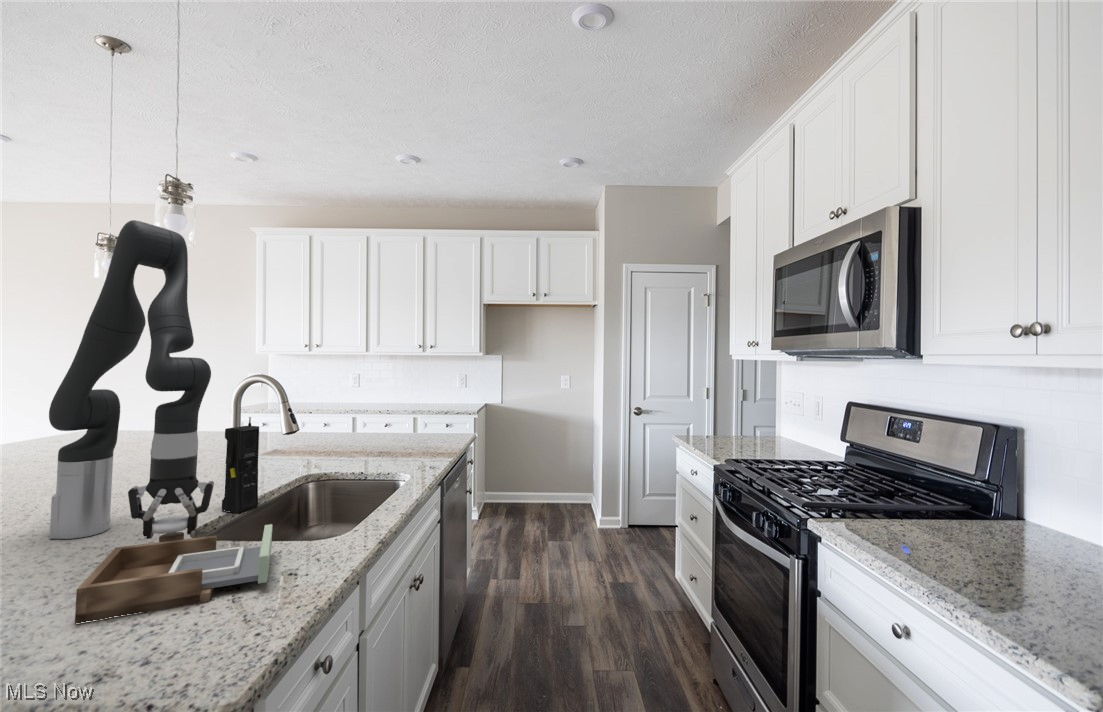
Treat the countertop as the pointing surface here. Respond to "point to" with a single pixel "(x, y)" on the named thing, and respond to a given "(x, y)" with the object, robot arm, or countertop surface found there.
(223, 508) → the portable radio
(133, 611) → the wooden drawer box
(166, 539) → the stand
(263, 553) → the tray
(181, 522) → the disc
